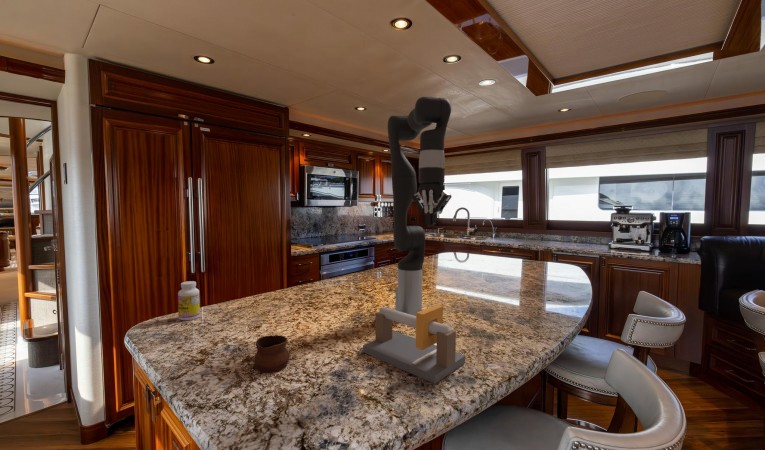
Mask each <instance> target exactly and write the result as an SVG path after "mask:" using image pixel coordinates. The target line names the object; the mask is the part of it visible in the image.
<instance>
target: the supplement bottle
mask: <svg viewBox="0 0 765 450" xmlns="http://www.w3.org/2000/svg"><path fill="white" fill-rule="evenodd" d="M180 288H181V289H180V290H178V292H177V302H178V303H177V307H178V308H177V309H178V311H177V312H178V313H177V314H178V319H179V320H180V321H191V320H195V319H198V318H199V317H200V316H201V315H200V314H201V308H200V305H201V304H200V303H201V301H200V300H201V299H200V289H198V288H197V282H196V280H195V281H194V280H192V281H191V280H189V281H183V282H181V283H180Z"/></svg>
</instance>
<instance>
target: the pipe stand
mask: <svg viewBox="0 0 765 450" xmlns="http://www.w3.org/2000/svg"><path fill="white" fill-rule="evenodd" d="M393 322H394V323H397V324H401V325H405V326H408V327H411V328H413V329H416V316H413V315H410V314H407V313H403V312H400V311H396V310H395V309H393V308H389V307H387V306H382V307H380V309H379V311H376V312H375V328H374V329H375V331H374V332H375V335H374V337H375V339H374V340H372V341H370V342H367V343H364V344H363V345H362V352H363V353H365V354H367V355H369V356H371V357H373V358H375V359H378V360H380V361H382V362H384V363H387V364H389V365H390V366H393V367H396V368H398V369H400V370H402V371H405V372H408V373H409V374H411V375H414V376H416V377H419V378H421V379H423V380H425V381H428V382H430V383H431V384H434V385H435V384H437V383H438V382H440V381H442V380H443V379H444V378H446V377H447V376H448V375H450V374H451V373H453V372H454V371H456V370H458V368H460V367H463V365H465V364H466V355H465V354H461V353H458V352H457V350H456V347H457V331H456V330H453V329H452V327H451V326H450V325H448V324H444V323H443V324H441V323H437V322H434V321H429V330H428V333H432V334H435V335H437V343H436V344H433V345H431V346H429V347H427V348H426V349H424V350H420V349H418V348H416V337H413V336H410V335H407V334H405V333H402V332H398V331H393Z"/></svg>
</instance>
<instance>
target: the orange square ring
mask: <svg viewBox="0 0 765 450" xmlns="http://www.w3.org/2000/svg"><path fill="white" fill-rule="evenodd" d="M443 313H444V306H443V305H438V304H435V305H432V306H430V307H427V308H425V309H422V311H419V312H417V313H416V328H415V338H416V348H418V349H420V350H424V349H426V348H427V347H429V346H431V345H436V344H437V335H435V334H432V333H428V330H429V321H434V322H437V323H441V324H444V323H443V319H444V318H443V317H444V314H443Z"/></svg>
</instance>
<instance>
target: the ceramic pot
mask: <svg viewBox="0 0 765 450" xmlns="http://www.w3.org/2000/svg"><path fill="white" fill-rule="evenodd" d="M287 342H288V337H287V336H284V335H280V334H279V335H278V334H277V335H265V336H261V337H259V338H258V339H256V341H255V346H256V350H257V351H256V352H255V355H254V358H253V363H254V366H255V367H254V368H255V369H256V370H257V371H259V372H261V373H264V374H265V373H268V374H270V373H276V372H279V371H282V370H284V369H285V368H287V367H288V363H289V360H290V357H291V355H290V352H289V350H288V349H287ZM233 373H234V374H235V378H237V379H240V380H241V381H242V382H245V380H244V378H243V377H242V375H240V371H238V369H237V367H235V368H234V371H233Z"/></svg>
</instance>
